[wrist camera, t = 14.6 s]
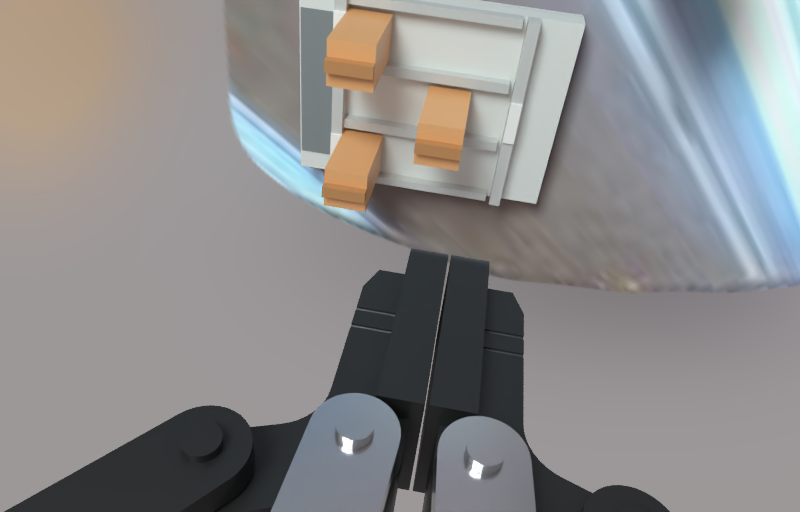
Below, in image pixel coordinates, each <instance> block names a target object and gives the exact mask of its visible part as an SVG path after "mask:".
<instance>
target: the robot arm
mask: <svg viewBox="0 0 800 512" xmlns="http://www.w3.org/2000/svg"><path fill="white" fill-rule="evenodd" d="M447 261H448V255H447V254H441V253H435V252H429V251H423V250H417V249H411V252H410V256H409V260H408V264H407V268H406V273H405V274H400V273H394V272H388V271H382V270H379V271H378V272H377V273H376V274H375V275H374V276H373V277H372V278H371V279H370V280H369V281H368V282H367V283H366V284H365V285H364V286H363V289H362V292H361V295H360V298H359V301H358V305H357V309H356V311H355V314H354V317H353V321H352V326H351V328H350V331H349V333H348V337H347V340H346V343H345V346H344V349H343V353H342V356H341V359H340V362H339V365H338V369H337V372H336V375H335V378H334V381H333V385H332V388H331V391H330V393H329V395H328V397H327V398H326V400H325V401H324V403H322V404H321V405H320V406H319V407H318V408H317V409H316V410H315V411H314V412H313V413H311V414H309V415H308V416H306V417H304V418H302V419H299V420H297V421H293V422H290V423H284V424H277V425H267V426H257V427H249V425H248V423H247V422H246V420H245V419H244V418H243V417H242V416H241V415H240V414H238V413H236V412H235V411H233V410H231V409H228V408H225V407H221V406H201V407H196V408H192V409H189V410H186V411H184V412H182V413H180V414H178V415H176V416H174V417H173V418H171V419H169V420H167V421H165V422H164V423H162V424H160V425H159V426H157V427H155V428H153V429H151V430H150V431H148V432H146V433H144V434H142V435H140V436H139V437H137V438H135V439H134V440H132V441H130V442H128V443H126V444H124V445H123V446H121V447H119V448H117V449H115V450H114V451H112V452H110V453H108V454H106V455H105V456H103V457H101V458H100V459H98V460H96V461H94V462H92V463H90V464H89V465H87V466H85V467H83V468H81V469H80V470H78V471H76V472H74V473H73V474H71V475H69V476H67V477H65V478H64V479H62V480H60V481H58V482H57V483H55V484H53V485H51V486H49V487H48V488H46V489H44V490H42V491H40V492H39V493H37V494H35V495H33V496H31V497H30V498H28V499H26V500H24V501H23V502H21V503H19V504H17V505H16V506H14V507H12V508H10V509H8V510H6V511H5V512H393V511H394V506H395V500H396V494H397V489H398V488H400V489H405V490H409V487H410V481H411V476H412V471H413V465H414V460H415V454H416V448H417V443H418V438H419V433H420V428H421V422H422V417H423V412H424V406H425V400H426V393H427V387H428V381H429V375H430V369H431V362H432V356H433V349H434V343H435V337H436V331H437V324H438V317H439V311H440V305H441V299H442V293H443V286H444V280H445V274H446V267H447ZM488 277H489V261H483V260H477V259H471V258H465V257H459V256H454V255H452V256H451V261H450V267H449V272H448V278H447V283H446V288H445V294H444V299H443V305H442V310H441V316H440V321H439V327H438V333H437V339H436V345H435V352H434V358H433V364H432V371H431V377H430V384H429V390H428V397H427V403H426V409H425V416H424V422H423V429H422V435H421V442H420V448H419V455H418V461H417V467H416V474H415V480H414V486H413V491H417V492H422V493H425V497H424V504H423V511H422V512H669V510H667V508H666V507H665V506H663V505H662V504H661V503H660V502H659V501H657V500H656V499H655V498H653V497H652V496H650V495H648V494H647V493H645V492H643V491H641V490H638V489H636V488H632V487H628V486H622V485H612V486H607V487H603V488H601V489H599V490H597V491H596V492H594V493H591V492H589V491H587V490H585V489H583V488H581V487H579V486H577V485H575V484H573V483H571V482H569V481H567V480H565V479H563V478H562V477H560V476H558V475H556V474H555V473H553V472H552V471H551V470H549V469H548V468H547V467H545V466H544V465H543V464H542V463H541V462H540V461H539V460H538V458H537V457H536V456H535V455H534V454H533V452H532V450H531V449H530V447H529V445H528V443H527V440H526V438H525V434H524V428H523V353H524V352H523V351H524V350H523V349H524V341H523V336H524V331H523V330H524V314H523V312H522V310H521V308H520V306H519V304H518V302H517V300H516V299H515V297H514V295H513V293H510V292H503V291H499V290H492V289H488Z"/></svg>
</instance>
